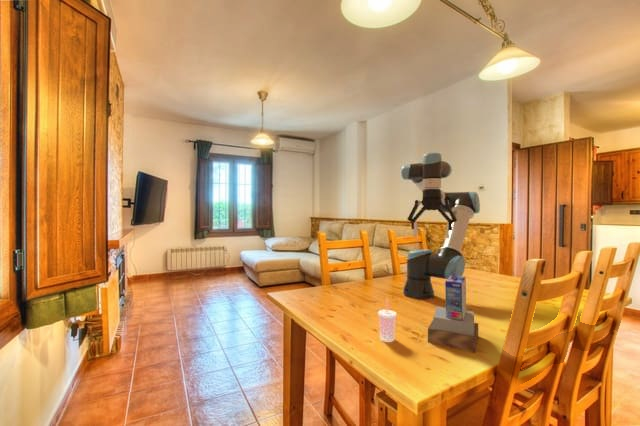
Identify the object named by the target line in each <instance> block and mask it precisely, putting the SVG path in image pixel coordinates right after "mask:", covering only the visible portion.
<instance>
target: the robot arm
mask: <svg viewBox="0 0 640 426" xmlns="http://www.w3.org/2000/svg"><path fill="white" fill-rule="evenodd" d="M400 173H401V177H402V179H403V180H406V181H408V180H409V181H410V180H411V182H412V183H414V184H415V186H416V187H417V188H418V189H419V190H420V191H421V193H422V200H417V199H416V200H415V201H414V205H413V207H412V209H411V211H410V213H409V215H408V217H407V221H409V222H411V230H413V237H414V238H417V237H418V222H417V220H418V219H419V218H420V217H421V216H422V215H423V213H425V212H426V211H438V212H439V213H440V214H441V215H442V217H444V219H445V220H446V221H447V223H446V230H445V231H446V233H445V234H446V235H445V237H444V240H443V243H442V247H439V248H438V250H437V252H436V253H432V250H431V249H414V250H409V251H408V252H407V253H406V254H407V255H406V280H405V284H404V286H403V289H402V290H403V292H402V294H403V295H404V296H405V297H408V298H412V299H417V300H428V299H430V300H431V299H433V298H435V290H434V287H433V284H432V280H431V278H437V279H444V280H447V279H448V278H449V276H451V274H450V272H451V271H453V273H454V274H455V276H460V277H463V275H464V272H465V270H466V269H465V268H466V267H465V266H466V260H465V257H464V256H463V253H461V252H462V248H463V245H464V241H465V238H466V234H467V230H468V226H469V224H470V221H471V220H472V218H474V216H475V214H479V213H480V211H481V203H480V196H479V194H478V193H477V192H476V191H464V192H463V191H461V192H459V191H458V192H457V191H455V192H453V191H452V192H445V191H444V190H443V189H441V188H442V179H445V178H448V177H450V175H451V174H452V165H451V164H449V163H448V162H446V161H443V159H442V154H441V153H440V152H429V153H425V154H423V157H422V162H418V163H408V164H403V166H402V167H401V172H400ZM420 205H422V207H421V208H420V210H419V211H418V212H417V210H418V208H419V206H420ZM416 212H417V213H416ZM415 213H416V214H415ZM447 213H448V214H449V215H448V214H447ZM450 217H451V218H450ZM453 273H452V275H453Z"/></svg>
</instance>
